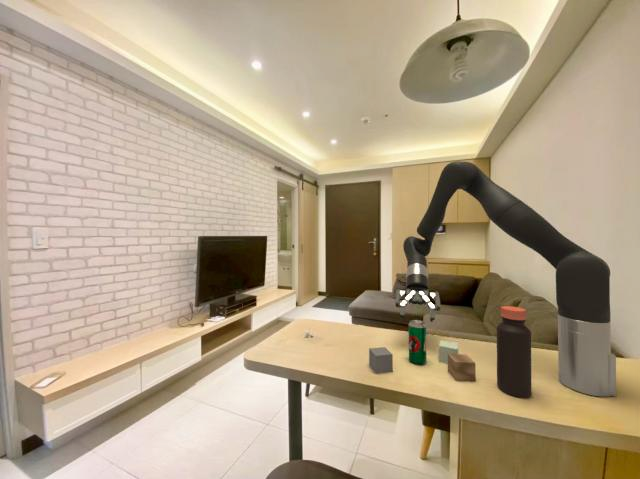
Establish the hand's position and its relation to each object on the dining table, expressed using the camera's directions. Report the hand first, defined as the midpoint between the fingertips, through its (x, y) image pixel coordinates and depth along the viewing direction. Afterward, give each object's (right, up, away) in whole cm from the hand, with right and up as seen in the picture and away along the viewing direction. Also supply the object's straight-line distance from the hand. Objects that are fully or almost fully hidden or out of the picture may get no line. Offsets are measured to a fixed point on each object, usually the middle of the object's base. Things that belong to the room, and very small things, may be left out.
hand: (417, 319), depth 84 cm
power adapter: (-35, -12, +14) cm, 40 cm away
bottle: (+16, -11, -21) cm, 28 cm away
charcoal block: (-14, -11, -10) cm, 21 cm away
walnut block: (+7, -11, -14) cm, 19 cm away
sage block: (+8, -11, -5) cm, 15 cm away
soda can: (-2, -11, -6) cm, 13 cm away
